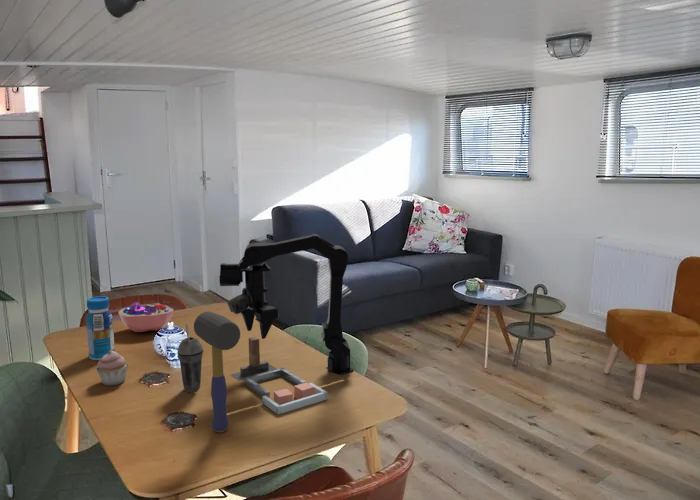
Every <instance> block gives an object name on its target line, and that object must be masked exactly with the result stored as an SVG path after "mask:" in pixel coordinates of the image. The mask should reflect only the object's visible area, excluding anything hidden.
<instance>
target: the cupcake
mask: <svg viewBox="0 0 700 500" xmlns="http://www.w3.org/2000/svg"><path fill="white" fill-rule="evenodd" d="M129 365H130V364H129V363H128V362H127V361H126V359H125V358H124V357H123V356H122V355H120V354H119V353H118V352H117V351H116V350H115V351H111V350H110V351H109V354H106V355H104V356H103V357H102V359H101V360H98V363H97V367H96V368H95V371H96V372H97V374H98V375H99V378H100V380H101V382H102V383H101V384H103V385H104V386H109V387H110V386H116V385H117V386H118V385H121V384H123V383H124V382H125V380H126V375H127V370H128V368H129Z"/></svg>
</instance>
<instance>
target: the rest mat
mask: <svg viewBox="0 0 700 500" xmlns="http://www.w3.org/2000/svg"><path fill="white" fill-rule="evenodd" d="M277 369H278V368H277V367H275V366H273V365H271V364H269V370H267V371H263V372H259V373H255V374H251V375H248V376H244V377H242V376H241V373H240V371H238V372H235V373H230V376H231V377H233V378H234V379H235V380H237V381H238V382H241V381H245V379H244V378H246V377H250V376H254V375H257V374H261V373H265V372H269V371H273V370H277Z"/></svg>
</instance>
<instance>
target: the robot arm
mask: <svg viewBox="0 0 700 500" xmlns="http://www.w3.org/2000/svg"><path fill="white" fill-rule="evenodd" d="M311 249H312V250H313V249H314V250H315V251H317V253H320V254H321V255H322V256H324V257H325V258H326V259H327V261H328V262H327V263H328V268H329V274H330V277H329V294H328V296H329V297H328V313H327V315H328V316H327V320H326V322H322V323H321V325H322V332H321V333H320V334H321V338H322V342H323V343H324V346H325V347H326V348H327V350H330V351H329V352H328V357H327V367H325V369H326V370H327V371H329V372H330V373H333V374H336V375H339V376H340V375H344V374H346V373H347V374H348V373H351V372H353V371H354V368H352V367H351V348H350V346H349V344H348V340H347V339H346V338H344V337H343V335H344V334H343V329H342V322H341V319H342V318H341V317H342V302H343V301H342V299H343V298H342V297H343V281H344V275H345V273H346V270H347V266H348V262H349V255H348V253H347V251H346V250H345V248H344V247H343V246H341V245H336V244H335V245H334V244H333V243H331V242H329V241H328V240H327V239H324V238H322V237H321V236H320V235H318V233H312V234H310V235H306V236H305V235H304V236H300V237H295V238H291V239H290V238H289V239H286V240H281V241H277V242H251V243H249V244H247V246H246V247H245V249H244V253H243V257H242V258H241V259H240V260H239V263H225V262H224V263H220V266H219V268H220V270H219V276H218V277H219V279H218V280H219V287H240V285H241V283H244V282H245V284H244V285H245V287H243V288H242V290H241V293H240V294H239V295H236V296H235V297H232V298H231V299H229V300H227V302H226V304H227V306H228V308H229V310H230V312H232V313H233V314H235V315H238V314H241V316H242V318H243V320H244V324H245V327H246V330H247V331H248V332H251V331H252V329H253V327H254V321H255V320H256V322H257V323H259V331H260V336H261V339H262V340H263V339H266V338H267V336H268V334H269V332H270V329H271V327H272V325H273V323H275V320H277V318H280V310H279V309H278V308H276V307H275V306H272V305H268V301H267V300H266V295H265V294H266V293H267V292H268V288H267V287H265V272H270V271H271V266H269V265H268V264H267V262H268V261H269V260H271V259H273V258H275V257H278V256H283V255H288V254H293V253H297V252H302V251H306V250H307V251H308V250H311ZM251 266H252V267H251Z"/></svg>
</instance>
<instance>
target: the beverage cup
mask: <svg viewBox="0 0 700 500" xmlns="http://www.w3.org/2000/svg"><path fill="white" fill-rule="evenodd" d="M185 330H186V338H183V339H182V340H181V342H180V343H179V344H178V348H177V357H178V360H179V366H180V372H181V379H182V380H181V381H182V385H183V390H184V392H186V393H196V392H197V390H199V388H201V381H202V359H203V356H204V355H203V354H204V353H203V352H204V349H203V345H202V342H201V341H200V340H199V339H197V338H195V337H190V334H189V326H188V324H185Z"/></svg>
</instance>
